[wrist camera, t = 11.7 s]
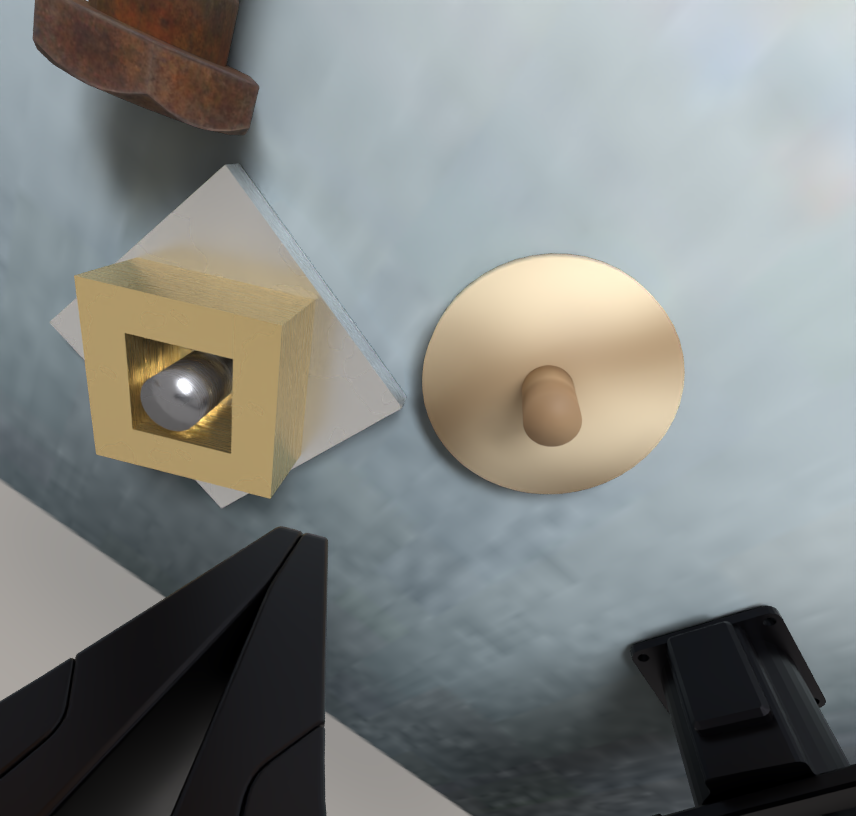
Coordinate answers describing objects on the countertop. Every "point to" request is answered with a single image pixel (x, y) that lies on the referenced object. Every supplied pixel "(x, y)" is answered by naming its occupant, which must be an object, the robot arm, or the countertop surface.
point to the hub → (266, 267)
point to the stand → (552, 374)
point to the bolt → (153, 55)
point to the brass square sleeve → (207, 332)
